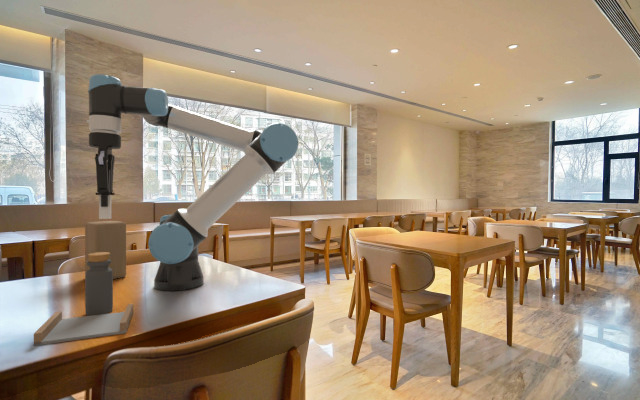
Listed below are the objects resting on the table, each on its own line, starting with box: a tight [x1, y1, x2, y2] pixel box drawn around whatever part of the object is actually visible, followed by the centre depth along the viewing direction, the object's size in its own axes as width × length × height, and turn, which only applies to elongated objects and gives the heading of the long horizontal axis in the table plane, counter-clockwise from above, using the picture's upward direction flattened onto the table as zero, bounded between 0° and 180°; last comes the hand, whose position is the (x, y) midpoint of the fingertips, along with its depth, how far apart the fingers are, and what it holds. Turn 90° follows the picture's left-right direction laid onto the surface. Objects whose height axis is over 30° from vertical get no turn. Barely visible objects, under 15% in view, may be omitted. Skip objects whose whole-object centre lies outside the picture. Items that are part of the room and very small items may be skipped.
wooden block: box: [84, 220, 127, 280], centre depth 119 cm, size 10×10×20 cm
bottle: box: [84, 252, 114, 316], centre depth 85 cm, size 6×6×15 cm
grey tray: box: [33, 303, 134, 346], centre depth 75 cm, size 16×13×2 cm
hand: (105, 218), depth 93 cm, fingers closed
